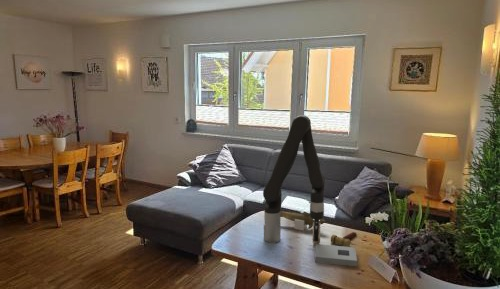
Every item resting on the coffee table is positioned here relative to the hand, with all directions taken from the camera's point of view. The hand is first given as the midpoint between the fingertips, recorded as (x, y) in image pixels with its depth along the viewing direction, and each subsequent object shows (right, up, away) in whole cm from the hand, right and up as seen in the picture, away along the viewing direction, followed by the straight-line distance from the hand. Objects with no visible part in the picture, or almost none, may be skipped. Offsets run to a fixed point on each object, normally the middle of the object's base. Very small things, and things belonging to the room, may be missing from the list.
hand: (316, 238), depth 179 cm
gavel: (+19, -3, +7) cm, 21 cm away
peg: (0, -4, +1) cm, 4 cm away
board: (+7, -6, -13) cm, 16 cm away
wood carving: (-7, 0, +25) cm, 26 cm away
